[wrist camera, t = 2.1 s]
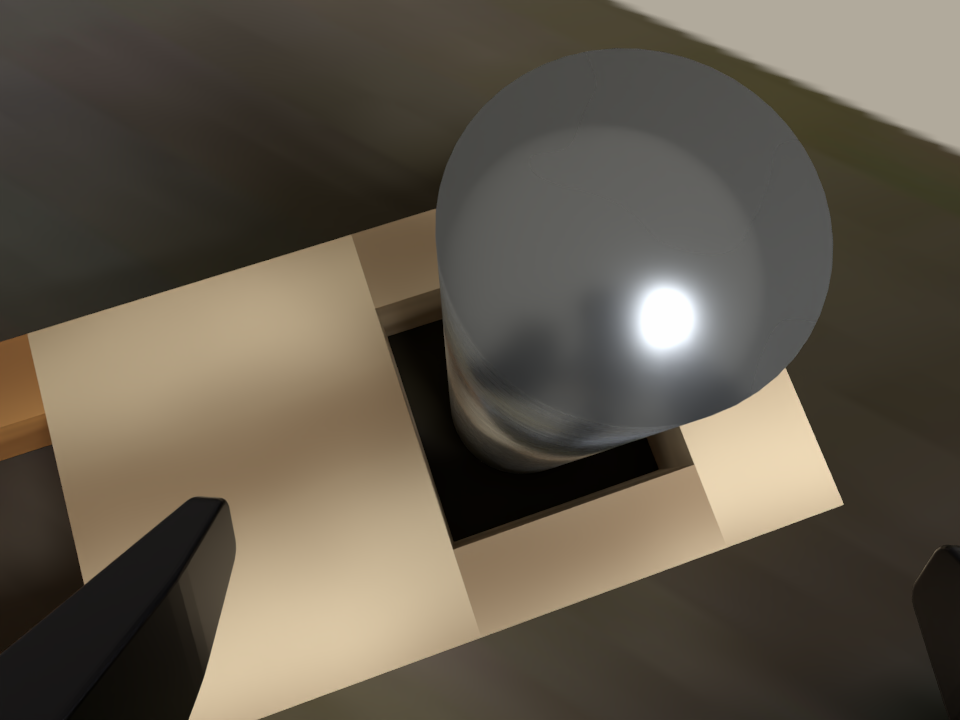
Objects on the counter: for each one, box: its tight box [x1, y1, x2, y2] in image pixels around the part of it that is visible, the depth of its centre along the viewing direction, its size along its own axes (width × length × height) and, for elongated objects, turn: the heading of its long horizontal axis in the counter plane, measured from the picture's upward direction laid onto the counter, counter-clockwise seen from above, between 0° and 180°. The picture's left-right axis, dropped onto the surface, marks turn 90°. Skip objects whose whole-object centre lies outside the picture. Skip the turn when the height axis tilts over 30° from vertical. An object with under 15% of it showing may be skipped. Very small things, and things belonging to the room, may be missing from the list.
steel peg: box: [435, 48, 833, 474], centre depth 13 cm, size 4×4×13 cm
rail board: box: [0, 209, 844, 720], centre depth 18 cm, size 10×25×3 cm, turn 109°
